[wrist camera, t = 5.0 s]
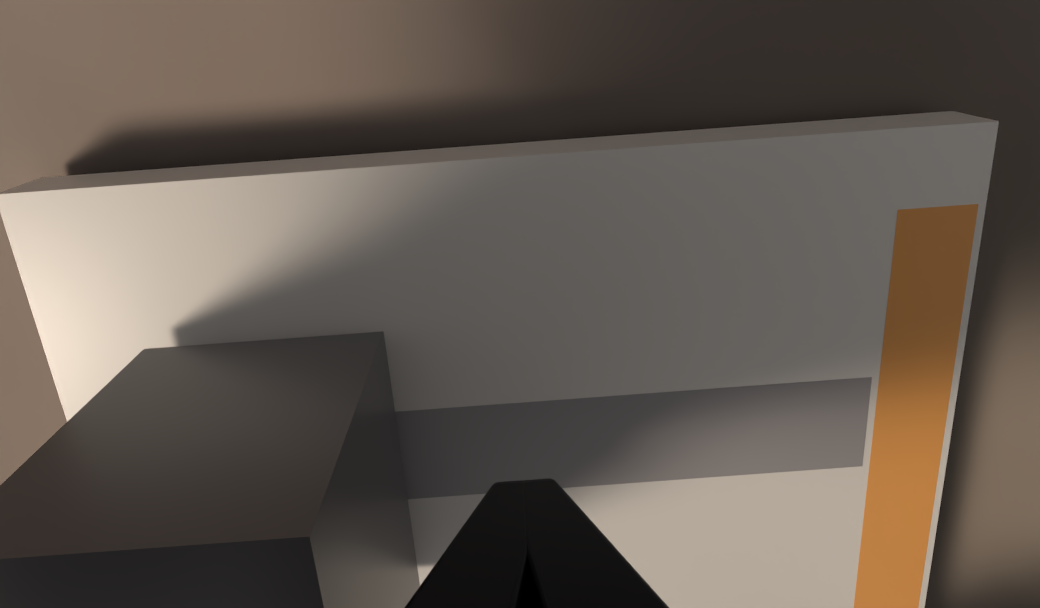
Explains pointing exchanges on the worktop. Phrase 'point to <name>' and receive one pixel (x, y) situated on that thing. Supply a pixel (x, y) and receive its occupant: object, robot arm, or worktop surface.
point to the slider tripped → (219, 485)
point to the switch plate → (588, 326)
